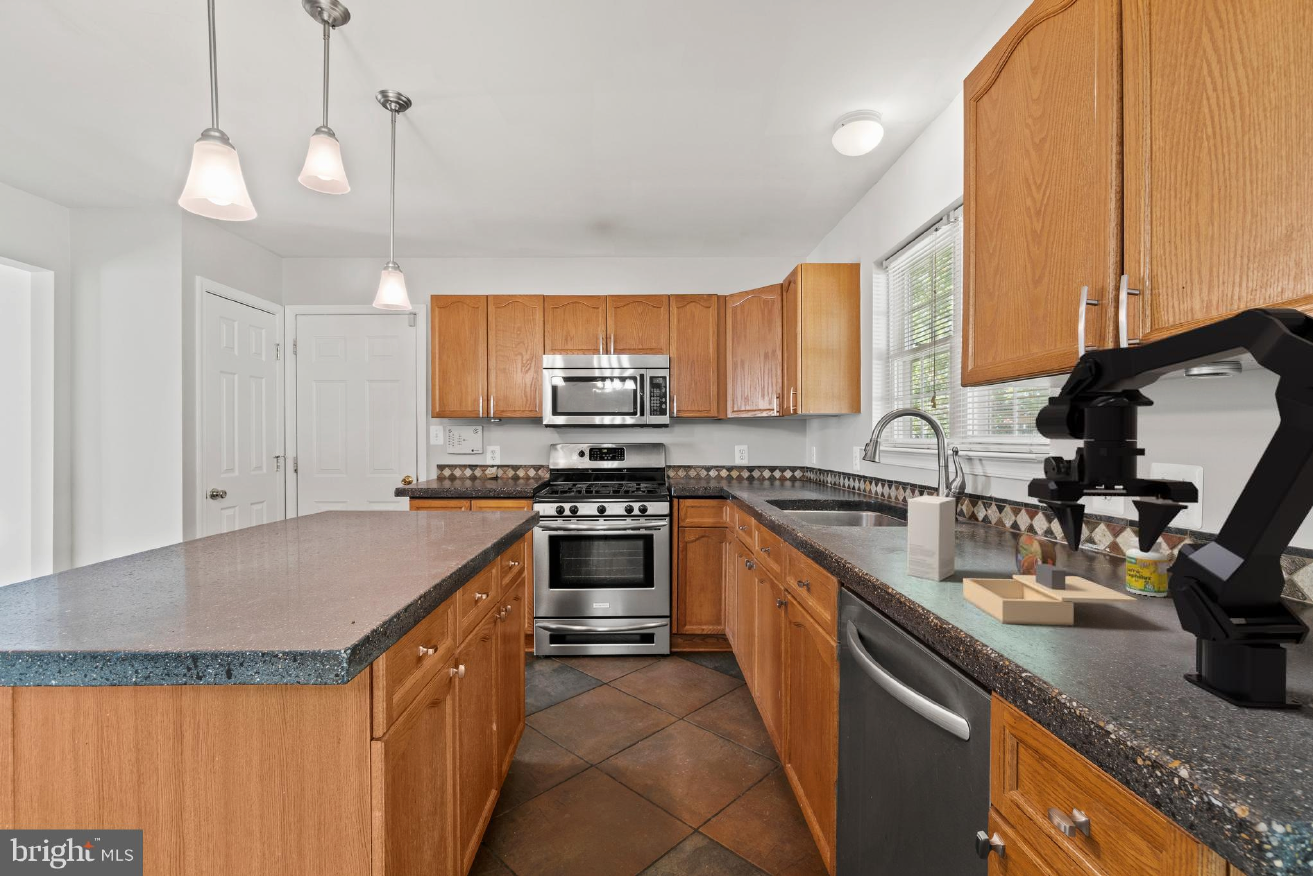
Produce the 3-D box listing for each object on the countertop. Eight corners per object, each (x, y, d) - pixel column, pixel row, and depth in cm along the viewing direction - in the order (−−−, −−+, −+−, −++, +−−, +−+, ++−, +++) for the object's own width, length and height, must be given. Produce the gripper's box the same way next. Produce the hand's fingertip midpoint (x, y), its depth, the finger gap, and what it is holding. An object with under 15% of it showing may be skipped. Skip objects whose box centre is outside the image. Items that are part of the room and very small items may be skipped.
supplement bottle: (1174, 596, 92) (1175, 541, 92) (1153, 599, 91) (1154, 543, 90) (1138, 587, 97) (1139, 535, 97) (1118, 590, 96) (1118, 537, 96)
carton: (1073, 625, 78) (1073, 602, 78) (1002, 623, 79) (1002, 600, 79) (1024, 600, 90) (1024, 579, 90) (963, 598, 91) (963, 578, 91)
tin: (1013, 569, 111) (1013, 529, 111) (1031, 570, 110) (1031, 530, 110) (1038, 589, 97) (1039, 543, 96) (1059, 591, 96) (1059, 544, 95)
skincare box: (923, 568, 111) (924, 494, 111) (957, 575, 106) (958, 497, 106) (905, 575, 106) (905, 498, 106) (940, 582, 101) (940, 501, 100)
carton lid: (1137, 602, 77) (1137, 579, 77) (1061, 601, 78) (1061, 577, 78) (1077, 579, 90) (1077, 558, 89) (1012, 577, 90) (1012, 557, 90)
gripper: (1134, 439, 81) (1133, 541, 81) (1006, 439, 83) (1005, 538, 83) (1202, 440, 70) (1201, 558, 70) (1053, 440, 72) (1052, 555, 72)
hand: (1108, 551), depth 74 cm, fingers open, 9 cm apart
